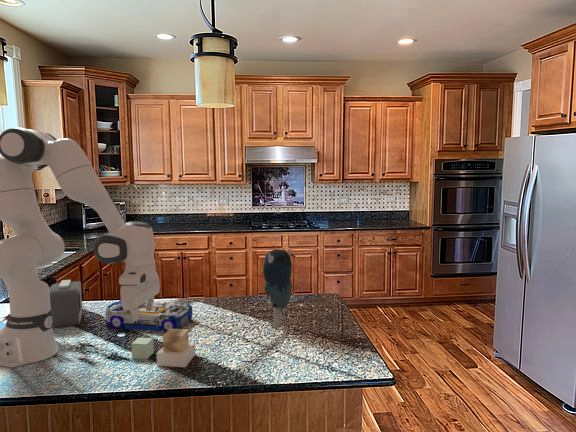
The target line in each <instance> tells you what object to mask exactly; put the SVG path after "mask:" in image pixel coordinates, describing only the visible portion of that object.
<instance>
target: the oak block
mask: <svg viewBox="0 0 576 432" xmlns="http://www.w3.org/2000/svg"><path fill="white" fill-rule="evenodd" d="M189 335H190V334H189V329H186V328H185V329H184V328H182V329H169V330H168V331H167V332H165V333H164V334H162V347H163V351H167V352H183V351H184V349H185V348H186V347H187V346H188V345H189V343H190V342H189Z"/></svg>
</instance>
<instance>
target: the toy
mask: <svg viewBox="0 0 576 432" xmlns="http://www.w3.org/2000/svg"><path fill="white" fill-rule="evenodd" d="M291 257H292V250H291V249H289V251H287V250H285V249H279V248H276V249H273V250H269V252H267V253H266V254H265V256H264V262H263V267H262V268H263V269H262V270H263V277H264V282H265V283H264V289H263V290H264V292H265V294H266V297H267V299H266V300H267V301H268V300H269V298H270V306H271V307H273V313H274V317H273V319H274V320H273V322H272V321H271V323H270V327H272V328H273V329H274V328H275V329H278V328H279V327H282V324H281V323H282V322H281V321H282V316H283V315H282V312H284V309H285V308H286V310H289V309H288V304H289V303H290V300H291V297H292V296H293V293H292V287H293V286H292V285H293V283H292V279H291V278H292V277H291V276H292V271H293V270H292V269H293V263H292V259H291Z"/></svg>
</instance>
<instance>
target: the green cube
mask: <svg viewBox="0 0 576 432" xmlns="http://www.w3.org/2000/svg"><path fill="white" fill-rule="evenodd" d="M130 345H131V359H133V360H134V359H135V360H136V359H137V360H148V359H149V358H150V357H151V356H152V355H153V354H154V351H155V350H154V337H137V338H136V339H135V340H133V342H131V343H130Z"/></svg>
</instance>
